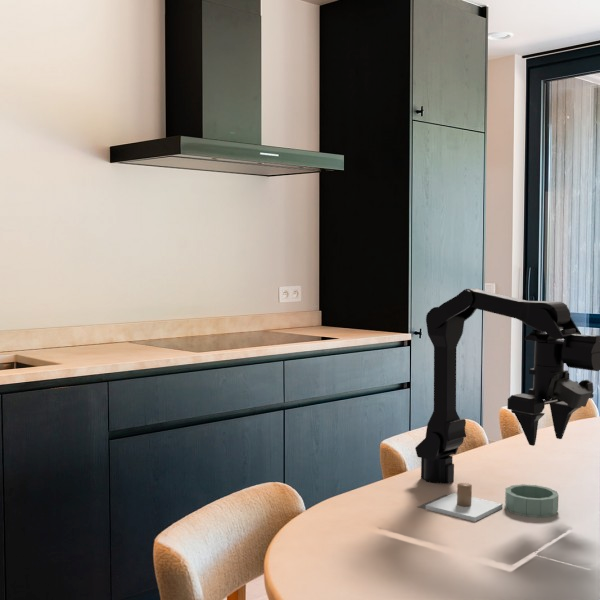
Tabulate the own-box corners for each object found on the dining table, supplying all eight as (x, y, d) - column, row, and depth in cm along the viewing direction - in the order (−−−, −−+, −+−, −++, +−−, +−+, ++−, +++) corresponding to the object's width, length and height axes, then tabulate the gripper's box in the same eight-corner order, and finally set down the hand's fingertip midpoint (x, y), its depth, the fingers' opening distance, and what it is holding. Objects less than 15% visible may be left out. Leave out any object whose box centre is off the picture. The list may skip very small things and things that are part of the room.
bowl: (496, 512, 164) (496, 492, 163) (519, 500, 171) (519, 481, 171) (544, 523, 157) (544, 503, 157) (565, 511, 165) (566, 491, 164)
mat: (417, 509, 165) (417, 506, 165) (445, 497, 173) (445, 494, 173) (474, 524, 156) (475, 521, 156) (502, 510, 165) (502, 507, 164)
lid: (425, 509, 163) (426, 485, 163) (454, 496, 172) (454, 473, 171) (475, 521, 156) (475, 496, 156) (502, 507, 164) (502, 484, 164)
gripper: (556, 374, 152) (553, 458, 153) (611, 366, 163) (607, 443, 164) (507, 366, 160) (504, 445, 161) (562, 359, 172) (559, 432, 173)
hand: (545, 441), depth 165 cm, fingers open, 9 cm apart
